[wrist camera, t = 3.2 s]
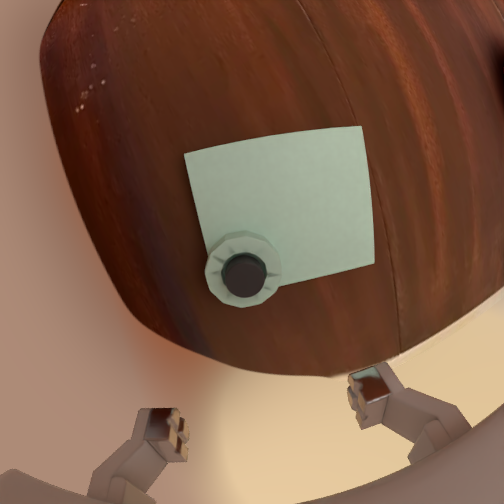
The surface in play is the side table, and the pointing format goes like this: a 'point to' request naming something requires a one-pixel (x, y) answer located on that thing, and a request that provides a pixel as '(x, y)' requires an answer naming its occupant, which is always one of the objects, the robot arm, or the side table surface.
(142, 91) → the side table surface
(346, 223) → the scale
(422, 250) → the side table surface
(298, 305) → the side table surface
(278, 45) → the side table surface
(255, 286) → the tare button
